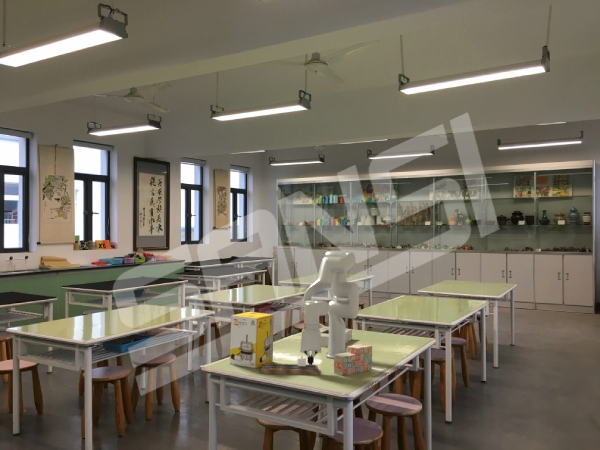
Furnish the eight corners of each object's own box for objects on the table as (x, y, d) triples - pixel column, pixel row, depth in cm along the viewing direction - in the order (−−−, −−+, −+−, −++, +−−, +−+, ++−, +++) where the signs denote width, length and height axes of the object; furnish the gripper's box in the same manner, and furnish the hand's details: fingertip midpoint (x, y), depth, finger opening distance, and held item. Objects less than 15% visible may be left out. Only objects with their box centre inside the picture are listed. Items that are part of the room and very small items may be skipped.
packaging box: (272, 361, 257) (274, 314, 258) (255, 368, 243) (257, 318, 243) (247, 357, 265) (249, 311, 265) (229, 363, 250) (231, 315, 251)
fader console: (317, 369, 244) (317, 363, 244) (318, 374, 234) (319, 368, 234) (262, 368, 243) (262, 362, 243) (261, 373, 233) (261, 367, 233)
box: (319, 336, 331) (302, 345, 302) (319, 325, 331) (302, 332, 302) (352, 340, 322) (337, 349, 293) (352, 329, 323) (338, 336, 293)
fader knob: (305, 365, 241) (305, 356, 241) (305, 368, 236) (306, 358, 236) (297, 365, 241) (297, 356, 241) (297, 368, 236) (298, 358, 236)
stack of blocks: (342, 376, 233) (343, 350, 233) (333, 373, 238) (334, 348, 238) (371, 369, 247) (372, 345, 247) (362, 367, 252) (363, 343, 252)
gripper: (325, 326, 244) (324, 362, 243) (296, 325, 243) (295, 362, 242) (327, 328, 236) (326, 366, 236) (296, 328, 235) (295, 366, 235)
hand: (310, 364), depth 239 cm, fingers closed
